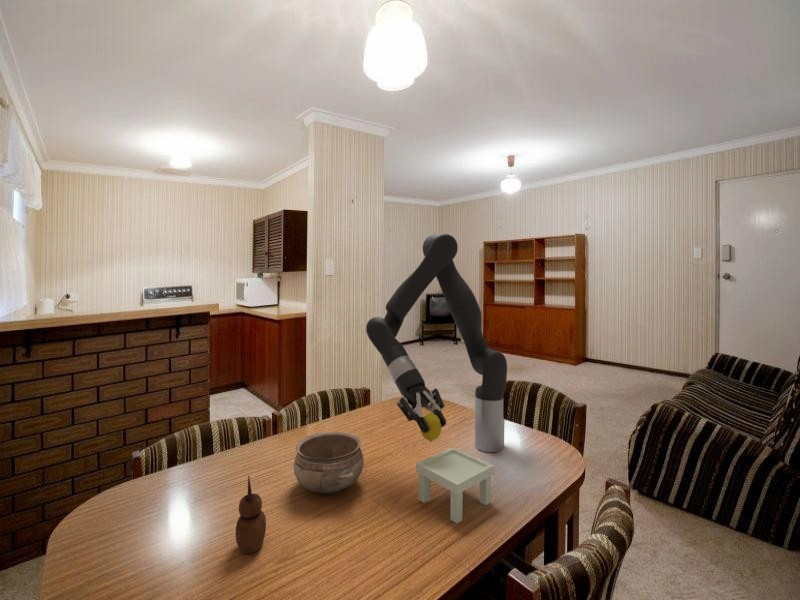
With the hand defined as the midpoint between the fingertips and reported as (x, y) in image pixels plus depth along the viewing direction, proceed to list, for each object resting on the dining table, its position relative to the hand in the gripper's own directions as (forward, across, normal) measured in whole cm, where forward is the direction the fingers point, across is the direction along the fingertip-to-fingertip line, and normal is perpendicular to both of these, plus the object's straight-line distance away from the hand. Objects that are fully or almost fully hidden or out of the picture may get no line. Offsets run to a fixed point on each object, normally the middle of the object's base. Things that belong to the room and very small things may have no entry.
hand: (435, 428), depth 104 cm
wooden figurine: (+5, -46, +20) cm, 50 cm away
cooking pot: (-2, -21, +27) cm, 34 cm away
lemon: (+2, 0, +4) cm, 5 cm away
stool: (+17, +1, +8) cm, 19 cm away
